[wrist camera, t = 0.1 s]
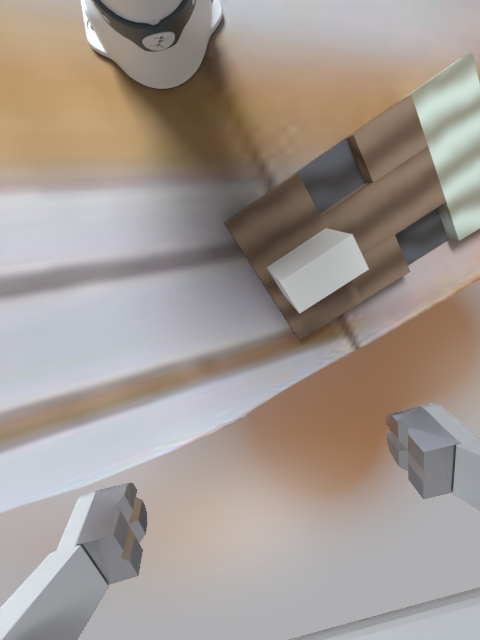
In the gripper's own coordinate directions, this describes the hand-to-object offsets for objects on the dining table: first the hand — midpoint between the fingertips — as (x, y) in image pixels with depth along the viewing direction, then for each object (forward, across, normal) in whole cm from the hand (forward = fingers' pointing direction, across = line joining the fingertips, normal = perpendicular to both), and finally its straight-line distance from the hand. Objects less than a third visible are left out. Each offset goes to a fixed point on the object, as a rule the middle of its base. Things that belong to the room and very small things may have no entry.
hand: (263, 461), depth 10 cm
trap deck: (+48, -28, +1) cm, 55 cm away
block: (+45, -15, +6) cm, 48 cm away
